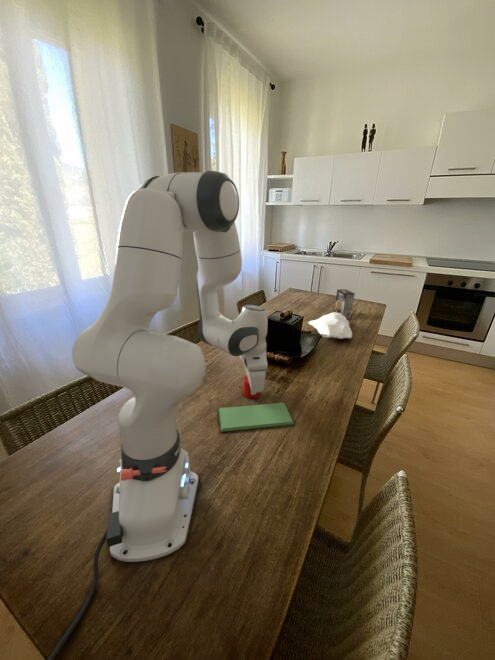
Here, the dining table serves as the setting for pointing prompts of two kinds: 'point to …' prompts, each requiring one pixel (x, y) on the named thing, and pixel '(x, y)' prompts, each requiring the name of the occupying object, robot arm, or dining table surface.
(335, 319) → the crumpled cloth
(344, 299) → the coffee box
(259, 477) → the dining table surface
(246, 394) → the pepper
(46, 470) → the dining table surface
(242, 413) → the towel
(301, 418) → the dining table surface
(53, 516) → the dining table surface
